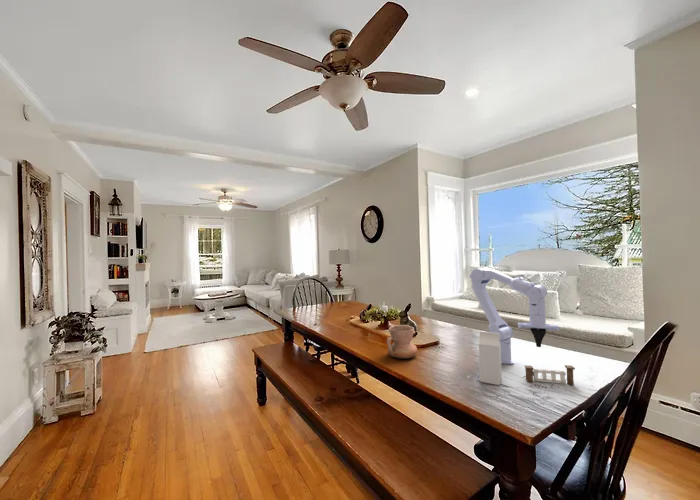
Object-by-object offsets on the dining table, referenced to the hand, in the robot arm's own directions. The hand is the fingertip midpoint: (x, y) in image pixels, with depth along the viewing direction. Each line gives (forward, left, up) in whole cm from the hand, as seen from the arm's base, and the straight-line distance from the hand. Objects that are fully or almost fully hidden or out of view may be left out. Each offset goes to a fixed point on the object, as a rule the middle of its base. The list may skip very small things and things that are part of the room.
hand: (538, 346), depth 126 cm
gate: (0, -11, -10) cm, 15 cm away
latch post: (-7, -11, -10) cm, 17 cm away
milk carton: (-21, -13, -11) cm, 27 cm away
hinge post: (+7, -11, -10) cm, 17 cm away
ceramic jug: (-58, +8, -11) cm, 60 cm away
